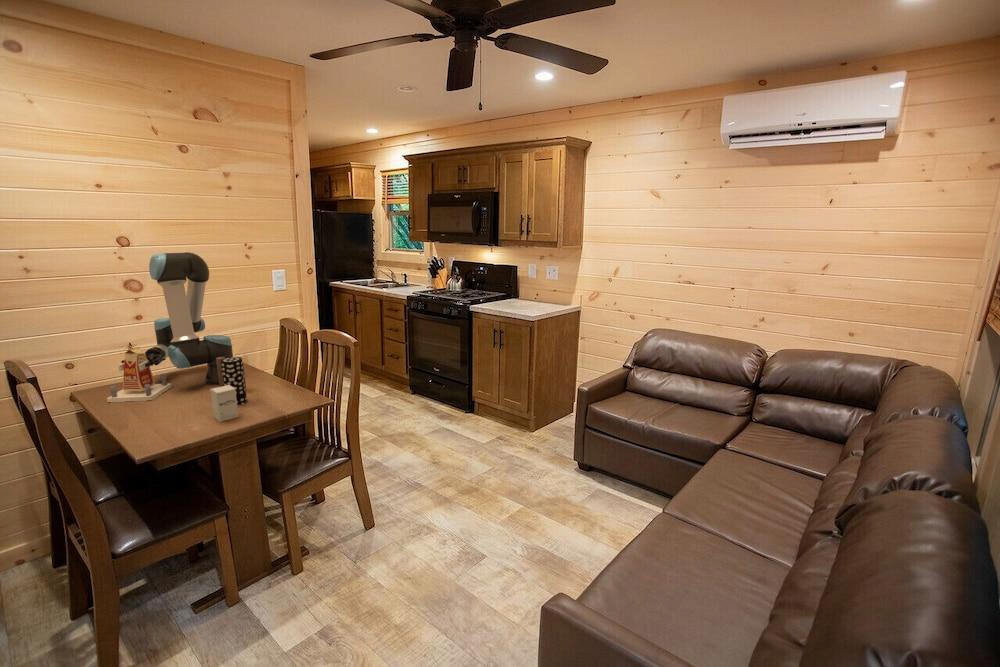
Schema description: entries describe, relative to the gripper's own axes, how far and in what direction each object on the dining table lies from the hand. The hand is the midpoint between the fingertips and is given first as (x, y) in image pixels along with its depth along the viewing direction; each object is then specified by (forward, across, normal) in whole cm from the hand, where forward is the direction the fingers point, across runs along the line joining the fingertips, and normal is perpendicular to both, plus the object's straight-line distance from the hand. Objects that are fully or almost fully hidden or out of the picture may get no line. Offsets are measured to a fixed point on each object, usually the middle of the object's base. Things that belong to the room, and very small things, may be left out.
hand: (130, 367), depth 218 cm
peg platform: (-5, 0, -14) cm, 15 cm away
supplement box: (+28, -49, -15) cm, 58 cm away
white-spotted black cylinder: (+11, -47, -15) cm, 50 cm away
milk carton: (-5, 0, -11) cm, 12 cm away
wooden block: (-2, -41, -15) cm, 44 cm away
